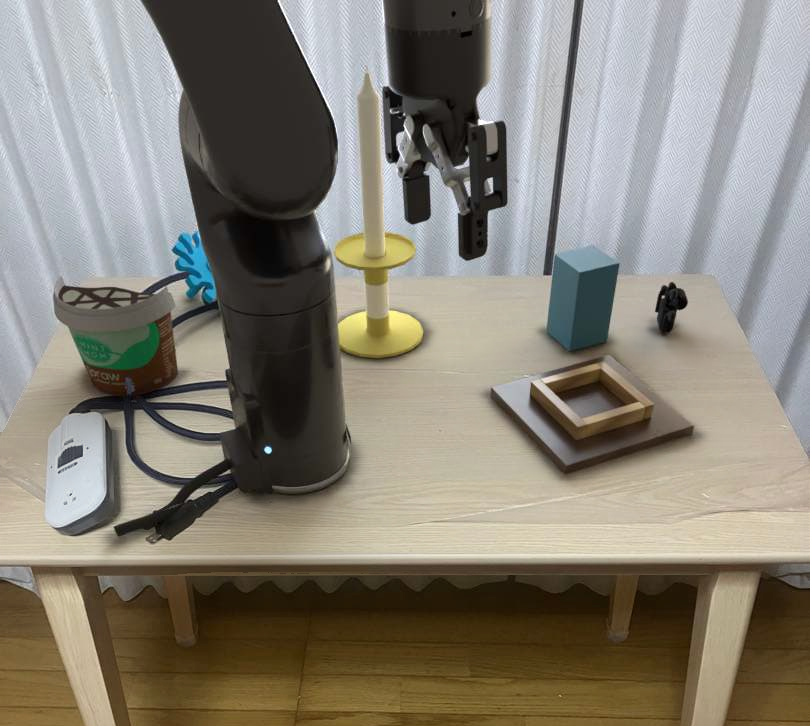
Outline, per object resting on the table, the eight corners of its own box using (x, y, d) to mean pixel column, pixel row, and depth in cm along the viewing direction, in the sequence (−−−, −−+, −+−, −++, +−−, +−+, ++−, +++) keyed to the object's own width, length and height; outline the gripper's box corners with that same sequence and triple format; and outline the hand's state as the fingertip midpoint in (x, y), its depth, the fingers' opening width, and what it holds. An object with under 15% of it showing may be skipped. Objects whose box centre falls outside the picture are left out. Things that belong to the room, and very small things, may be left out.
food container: (54, 395, 88) (22, 305, 81) (83, 363, 92) (56, 275, 85) (167, 409, 86) (144, 318, 79) (191, 375, 90) (172, 286, 83)
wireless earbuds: (652, 312, 98) (660, 270, 95) (674, 313, 98) (684, 271, 94) (661, 344, 93) (670, 301, 89) (684, 345, 93) (694, 302, 89)
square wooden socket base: (565, 474, 77) (568, 452, 75) (490, 395, 86) (491, 374, 85) (692, 434, 81) (698, 412, 79) (607, 362, 90) (611, 341, 89)
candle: (400, 304, 100) (395, 45, 82) (438, 344, 94) (441, 71, 75) (320, 324, 97) (295, 58, 79) (353, 366, 91) (334, 88, 72)
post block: (569, 351, 92) (579, 272, 86) (546, 331, 95) (554, 253, 89) (607, 341, 94) (620, 263, 87) (582, 321, 97) (593, 244, 91)
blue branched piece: (225, 313, 96) (161, 241, 94) (196, 343, 99) (134, 273, 97) (271, 282, 104) (214, 215, 102) (243, 310, 108) (187, 246, 106)
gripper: (342, 4, 63) (363, 222, 74) (444, 41, 54) (451, 284, 65) (430, -13, 66) (438, 200, 77) (543, 19, 56) (533, 257, 67)
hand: (444, 238), depth 71 cm, fingers open, 8 cm apart
